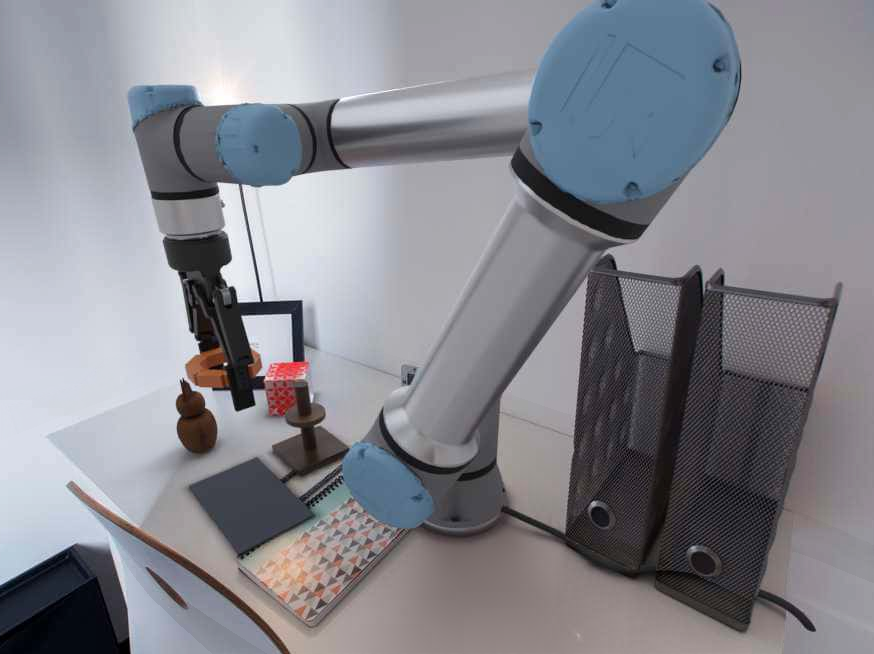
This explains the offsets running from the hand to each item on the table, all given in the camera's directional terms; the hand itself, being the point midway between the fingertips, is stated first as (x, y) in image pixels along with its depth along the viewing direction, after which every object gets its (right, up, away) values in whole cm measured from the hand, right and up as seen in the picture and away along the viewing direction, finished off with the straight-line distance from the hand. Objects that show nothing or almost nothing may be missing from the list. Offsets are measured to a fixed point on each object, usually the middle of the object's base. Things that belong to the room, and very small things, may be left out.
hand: (230, 394), depth 75 cm
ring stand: (+8, -10, +19) cm, 23 cm away
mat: (0, -17, +8) cm, 19 cm away
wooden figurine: (-13, -10, +22) cm, 27 cm away
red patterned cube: (+1, -2, +35) cm, 35 cm away
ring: (0, +3, -2) cm, 4 cm away
